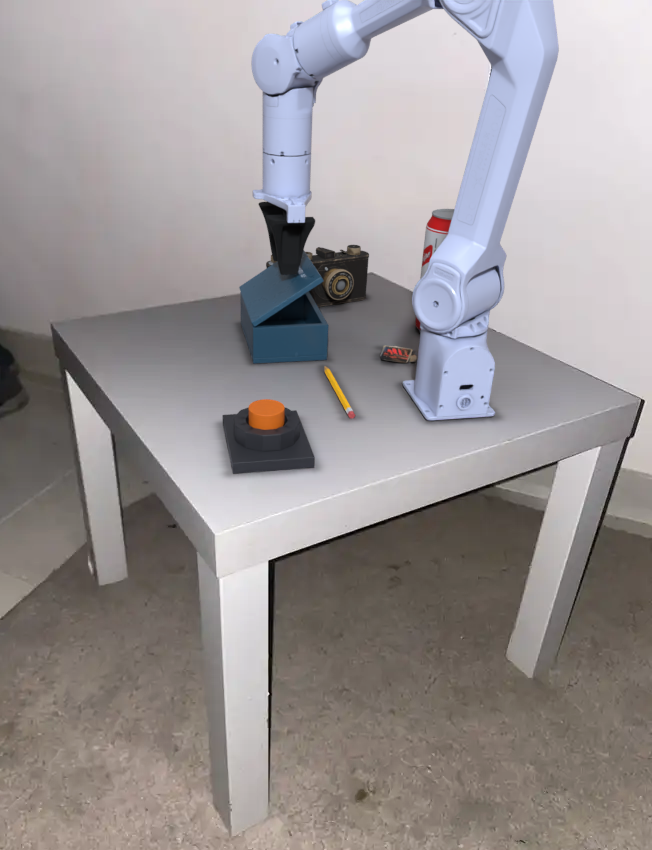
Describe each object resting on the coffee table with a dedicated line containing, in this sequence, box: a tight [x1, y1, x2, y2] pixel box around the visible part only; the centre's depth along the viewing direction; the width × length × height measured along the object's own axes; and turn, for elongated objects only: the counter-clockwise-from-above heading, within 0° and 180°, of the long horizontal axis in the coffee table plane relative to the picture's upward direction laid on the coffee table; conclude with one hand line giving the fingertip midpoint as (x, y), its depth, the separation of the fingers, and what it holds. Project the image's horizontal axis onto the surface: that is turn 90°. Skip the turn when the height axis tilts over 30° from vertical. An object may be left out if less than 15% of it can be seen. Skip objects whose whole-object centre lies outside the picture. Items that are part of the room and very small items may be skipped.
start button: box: [248, 398, 286, 430], centre depth 77 cm, size 4×4×2 cm
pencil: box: [323, 365, 356, 419], centre depth 90 cm, size 1×13×1 cm, turn 12°
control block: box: [222, 406, 316, 475], centre depth 78 cm, size 10×8×3 cm
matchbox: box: [379, 345, 418, 363], centre depth 99 cm, size 5×5×1 cm
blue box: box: [239, 291, 329, 364], centre depth 101 cm, size 9×13×5 cm
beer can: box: [415, 208, 455, 333], centre depth 103 cm, size 6×6×16 cm
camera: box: [265, 244, 370, 308], centre depth 113 cm, size 16×7×8 cm, turn 117°
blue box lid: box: [238, 249, 324, 327], centre depth 97 cm, size 10×13×5 cm
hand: (285, 266), depth 97 cm, fingers closed on blue box lid, 5 cm apart
